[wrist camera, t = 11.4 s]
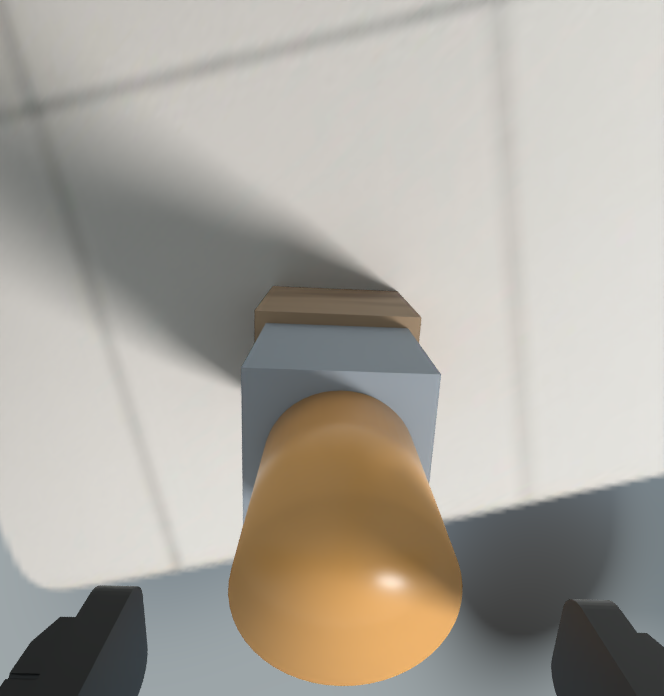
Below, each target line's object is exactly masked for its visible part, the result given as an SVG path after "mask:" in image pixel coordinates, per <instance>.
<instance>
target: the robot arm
mask: <svg viewBox="0 0 664 696" xmlns="http://www.w3.org/2000/svg"><path fill="white" fill-rule="evenodd" d="M146 664H147V638H146V626H145V615H144V605H143V594H142V590H141V588H140V587H137V586H97V587H95V588H94V589H93V590H92V592H91V593H90V595H89V596H88V598H87V600H86V601H85V603H84V604H83V606H82V608H81V609H80V611H79V613H78V614H77V616H76V617H60V618H58V619H57V620H56V621H55V622H54V623H53V624H51V625H50V626H49V627H48V628H47V629H46V630H44V631H43V632H42V633H41V634H40V635H39V636H37V637H36V638H35V639H34V640H33V641H32V642H31V643H30V644H29V646H28V647H27V649H26V650H25V651H24V653H23V654H22V656H21V657H20V659H19V660H18V662H17V663H16V664H15V666H14V668H13V669H12V670H11V672H10V675H9V678H8V679H5V680H4V682H3V683H2V685H1V686H0V696H138V694H139V691H140V688H141V685H142V682H143V679H144V674H145V670H146ZM551 669H552V679H553V683H554V688H555V692H556V695H557V696H664V647H663V646H662V645H661V644H659V643H658V642H657V641H656V640H655V639H653V638H652V637H651V636H650V635H648V634H647V633H637V632H636V631H635V629H634V628H633V626H632V625H631V624H630V622H629V621H628V620H627V618H626V617H625V615H624V614H623V613H622V611H621V610H620V609H619V607H618V606H617V605H616V604H615V603H613V602H611V601H609V600H579V599H578V600H577V599H569V600H567V601H566V602H565V604H564V606H563V611H562V615H561V620H560V624H559V629H558V633H557V638H556V643H555V648H554V652H553V657H552V664H551Z"/></svg>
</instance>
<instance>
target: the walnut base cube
mask: <svg viewBox="0 0 664 696" xmlns="http://www.w3.org/2000/svg"><path fill="white" fill-rule="evenodd" d="M266 323H280V324H307V325H334V326H361V327H388V328H408V329H409V330H410V332H411V333H412V335H413V336H414V337H415V339H416V340H417V342H418V343H419V336H420V326H421V317H420V315H419V314H418V313H417V312H416V311H415V310H414V309H413V308H412V307H411V306H410V305H409V303H408V302H407V301H406V300H405V299H404V298H403V297H402V296H401V295H400V294H399V293H398V291H377V290H353V289H329V288H304V287H280V286H273V287H272V288H271V289H270V291H269V292H268V293H267V295H266V296H265V297H264V299H263V300H262V301H261V303H260V304H259V305H258V307H257V308H256V309H255V342H256V340H257V338H258V336H259V335H260V333H261V331H262V329H263V327H264V326H265V324H266Z"/></svg>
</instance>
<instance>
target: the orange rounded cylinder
mask: <svg viewBox="0 0 664 696" xmlns="http://www.w3.org/2000/svg"><path fill="white" fill-rule="evenodd" d="M228 597H229V604H230V609H231V613H232V617H233V620H234V622H235V624H236V626H237V629H238V630H239V632H240V634H241V635H242V637H243V638H244V640H245V641H246V643H247V644H248V645H249V646H250V647H251V648H252V649H253V651H254V652H255V653H257V654H258V655H259V656H260V657H261V658H262V659H263V660H265V661H266V662H268V663H269V664H270V665H272V666H273V667H275V668H277V669H279V670H280V671H282V672H284V673H286V674H288V675H291V676H293V677H296V678H299V679H302V680H306V681H309V682H313V683H318V684H324V685H334V686H354V685H363V684H370V683H374V682H378V681H382V680H385V679H388V678H391V677H394V676H397V675H399V674H401V673H403V672H405V671H407V670H409V669H411V668H413V667H414V666H416V665H417V664H419V663H421V662H422V661H423V660H424V659H426V658H427V657H428V656H429V655H431V654H432V653H433V652H434V651H435V650H436V649H437V648H438V647H439V646H440V645H441V643H442V642H443V641H444V639H445V638H446V637H447V635H448V634H449V632H450V631H451V629H452V627H453V625H454V623H455V621H456V618H457V616H458V613H459V609H460V605H461V600H462V577H461V571H460V568H459V564H458V561H457V558H456V555H455V553H454V550H453V547H452V545H451V542H450V539H449V536H448V534H447V531H446V528H445V526H444V523H443V520H442V518H441V515H440V512H439V510H438V507H437V504H436V502H435V499H434V496H433V494H432V491H431V488H430V486H429V483H428V480H427V478H426V475H425V472H424V470H423V467H422V464H421V462H420V459H419V456H418V454H417V451H416V448H415V445H414V443H413V440H412V437H411V435H410V433H409V431H408V428H407V427H406V425H405V424H404V422H403V421H402V419H401V418H400V417H399V416H398V415H397V413H395V412H394V411H393V410H392V409H391V408H390V407H389V406H387V405H386V404H384V403H383V402H381V401H379V400H377V399H375V398H373V397H371V396H368V395H365V394H362V393H358V392H353V391H343V390H340V391H327V392H321V393H318V394H314V395H311V396H309V397H307V398H304V399H302V400H300V401H299V402H297V403H295V404H294V405H292V406H291V407H290V408H288V409H287V410H286V411H285V412H284V413H283V414H282V415H281V416H280V417H279V418H278V420H277V421H276V422H275V424H274V425H273V427H272V429H271V431H270V433H269V435H268V438H267V440H266V443H265V447H264V451H263V455H262V458H261V462H260V466H259V469H258V473H257V477H256V480H255V484H254V488H253V491H252V495H251V499H250V502H249V506H248V510H247V513H246V517H245V521H244V524H243V528H242V532H241V535H240V539H239V543H238V546H237V550H236V554H235V557H234V561H233V565H232V568H231V573H230V578H229V588H228Z"/></svg>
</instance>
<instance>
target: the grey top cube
mask: <svg viewBox="0 0 664 696" xmlns="http://www.w3.org/2000/svg"><path fill="white" fill-rule="evenodd" d="M440 379H441V374H440V372H439V371H438V370H437V368H436V367H435V365H434V364H433V363H432V361H431V360H430V358H429V357H428V356H427V354H426V353H425V351H424V350H423V349H422V347H421V346H420V344H419V343H418V342H417V340H416V339H415V337H414V336H413V335H412V333H411V332H410V330H409V329H408V328H388V327H361V326H334V325H307V324H280V323H266V324H265V326H264V327H263V329H262V331H261V333H260V335H259V336H258V338H257V340H256V342H255V344H254V345H253V347H252V349H251V351H250V353H249V354H248V356H247V358H246V360H245V362H244V363H243V365H242V367H241V393H242V474H243V524H244V521H245V517H246V513H247V510H248V506H249V502H250V499H251V495H252V491H253V488H254V484H255V480H256V477H257V473H258V469H259V466H260V462H261V458H262V455H263V451H264V447H265V443H266V440H267V438H268V435H269V433H270V431H271V429H272V427H273V425H274V424H275V422H276V421H277V420H278V418H279V417H280V416H281V415H282V414H283V413H284V412H285V411H286V410H287V409H288V408H290V407H291V406H292V405H294V404H295V403H297V402H299V401H300V400H302V399H304V398H307V397H309V396H311V395H314V394H318V393H321V392H327V391H340V390H343V391H353V392H358V393H362V394H365V395H368V396H371V397H373V398H375V399H377V400H379V401H381V402H383V403H384V404H386V405H387V406H389V407H390V408H391V409H392V410H393V411H394V412H395V413H397V415H398V416H399V417H400V418H401V419H402V421H403V422H404V424H405V425H406V427H407V428H408V431H409V433H410V435H411V437H412V440H413V443H414V445H415V448H416V451H417V454H418V456H419V459H420V462H421V464H422V467H423V470H424V472H425V475H426V478H427V480H428V483H429V480H430V471H431V462H432V452H433V443H434V434H435V425H436V416H437V407H438V398H439V388H440Z"/></svg>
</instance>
